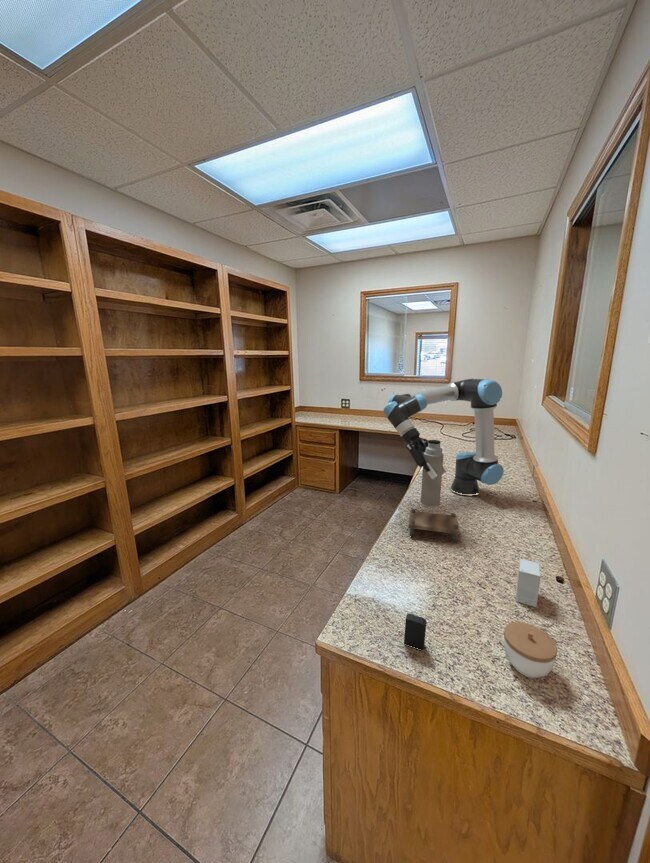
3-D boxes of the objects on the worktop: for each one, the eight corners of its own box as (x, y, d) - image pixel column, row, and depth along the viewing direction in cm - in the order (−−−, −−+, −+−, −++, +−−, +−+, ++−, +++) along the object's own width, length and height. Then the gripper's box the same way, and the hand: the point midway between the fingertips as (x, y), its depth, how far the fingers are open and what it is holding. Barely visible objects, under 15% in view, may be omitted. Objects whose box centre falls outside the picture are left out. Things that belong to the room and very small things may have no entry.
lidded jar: (504, 678, 76) (508, 644, 74) (498, 642, 85) (501, 611, 84) (559, 694, 72) (565, 658, 70) (546, 655, 82) (551, 622, 80)
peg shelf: (455, 528, 145) (456, 513, 144) (458, 544, 132) (460, 528, 131) (409, 522, 151) (410, 507, 149) (408, 537, 138) (408, 521, 136)
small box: (536, 608, 97) (540, 576, 95) (515, 601, 100) (518, 570, 98) (536, 592, 104) (540, 563, 102) (516, 586, 107) (519, 557, 105)
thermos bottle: (425, 497, 148) (430, 437, 142) (442, 502, 143) (447, 440, 137) (417, 503, 142) (421, 440, 137) (434, 508, 137) (439, 443, 131)
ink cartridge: (424, 644, 85) (427, 618, 83) (423, 651, 83) (425, 624, 81) (405, 638, 87) (407, 612, 85) (403, 644, 85) (405, 618, 83)
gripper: (414, 433, 155) (444, 474, 147) (389, 440, 141) (421, 485, 133) (425, 424, 150) (457, 465, 142) (400, 430, 136) (434, 476, 128)
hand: (439, 475), depth 137 cm, fingers closed on thermos bottle, 8 cm apart
